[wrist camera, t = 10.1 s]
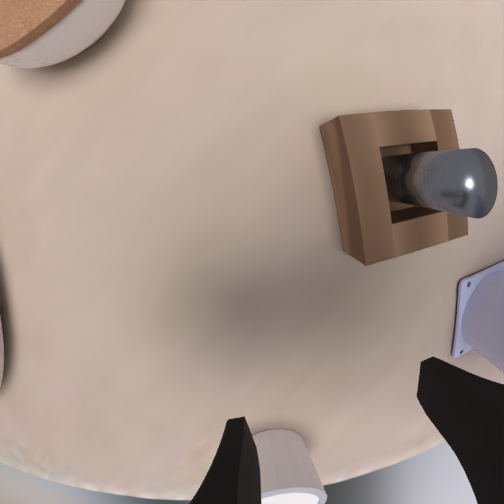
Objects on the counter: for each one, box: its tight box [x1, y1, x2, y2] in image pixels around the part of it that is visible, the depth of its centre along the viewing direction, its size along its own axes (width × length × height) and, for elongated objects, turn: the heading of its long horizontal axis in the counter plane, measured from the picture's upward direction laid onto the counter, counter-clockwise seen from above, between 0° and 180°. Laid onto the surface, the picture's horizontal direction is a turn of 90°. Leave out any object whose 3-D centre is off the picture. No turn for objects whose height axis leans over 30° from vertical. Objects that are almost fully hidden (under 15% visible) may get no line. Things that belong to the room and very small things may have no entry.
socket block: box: [320, 110, 468, 266], centre depth 16 cm, size 8×8×4 cm
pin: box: [381, 148, 497, 218], centre depth 13 cm, size 3×3×8 cm
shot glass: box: [252, 429, 327, 504], centre depth 19 cm, size 7×7×7 cm
